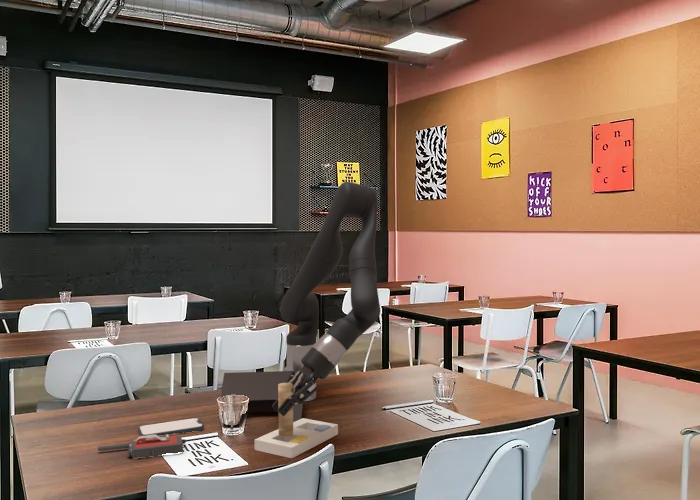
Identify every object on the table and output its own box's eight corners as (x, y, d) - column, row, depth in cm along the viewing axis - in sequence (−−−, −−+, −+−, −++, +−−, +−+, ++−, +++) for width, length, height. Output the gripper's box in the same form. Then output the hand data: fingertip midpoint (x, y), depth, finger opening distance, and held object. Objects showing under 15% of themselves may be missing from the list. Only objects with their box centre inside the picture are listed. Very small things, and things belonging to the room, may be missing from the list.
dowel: (275, 434, 149) (275, 385, 149) (284, 430, 152) (284, 382, 152) (287, 437, 147) (287, 386, 147) (296, 433, 150) (295, 383, 150)
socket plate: (291, 458, 143) (291, 445, 143) (254, 449, 149) (254, 437, 149) (338, 434, 160) (338, 423, 160) (302, 427, 166) (302, 416, 166)
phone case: (141, 442, 156) (205, 432, 163) (141, 435, 156) (205, 426, 163) (137, 432, 164) (198, 423, 171) (137, 426, 164) (198, 417, 171)
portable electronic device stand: (218, 448, 167) (216, 422, 163) (224, 391, 187) (223, 366, 183) (304, 444, 170) (304, 419, 166) (301, 388, 190) (301, 364, 186)
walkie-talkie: (184, 443, 155) (98, 453, 148) (184, 425, 154) (97, 434, 148) (188, 455, 146) (96, 466, 140) (187, 436, 146) (95, 446, 139)
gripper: (303, 342, 159) (258, 394, 154) (325, 351, 146) (276, 409, 141) (323, 360, 161) (278, 413, 156) (345, 371, 149) (298, 429, 144)
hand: (277, 411), depth 149 cm, fingers closed on dowel, 3 cm apart
